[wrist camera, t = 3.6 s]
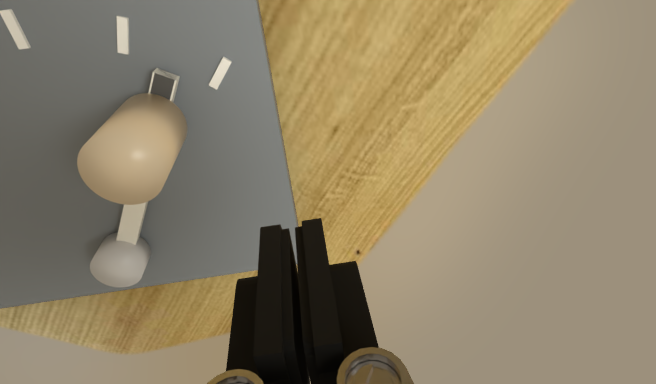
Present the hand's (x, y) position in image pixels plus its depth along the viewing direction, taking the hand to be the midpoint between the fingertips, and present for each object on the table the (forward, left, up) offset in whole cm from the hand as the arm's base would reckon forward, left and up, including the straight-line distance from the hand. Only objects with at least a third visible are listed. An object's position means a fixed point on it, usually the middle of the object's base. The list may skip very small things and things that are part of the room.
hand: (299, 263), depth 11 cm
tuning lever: (+10, +4, -14) cm, 18 cm away
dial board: (+13, +2, -16) cm, 20 cm away
